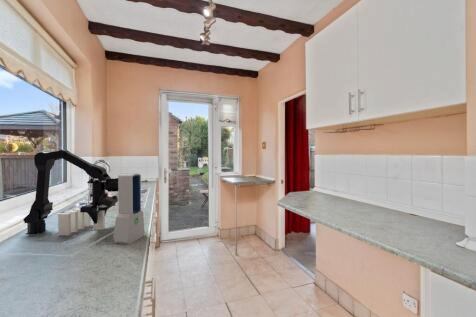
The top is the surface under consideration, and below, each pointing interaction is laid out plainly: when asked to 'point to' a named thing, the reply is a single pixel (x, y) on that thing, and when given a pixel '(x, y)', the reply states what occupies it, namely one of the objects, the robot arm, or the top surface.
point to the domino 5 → (100, 221)
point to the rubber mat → (62, 238)
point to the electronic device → (129, 209)
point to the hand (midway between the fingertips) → (99, 222)
